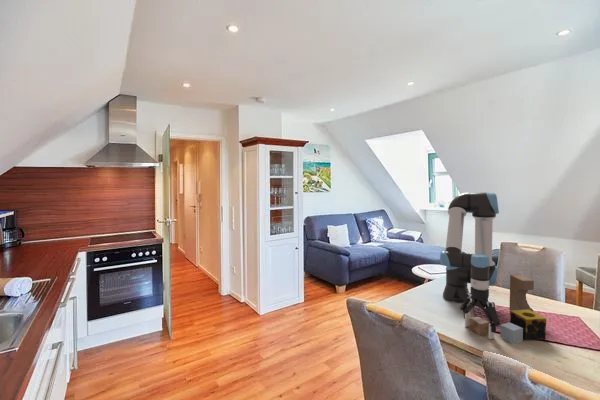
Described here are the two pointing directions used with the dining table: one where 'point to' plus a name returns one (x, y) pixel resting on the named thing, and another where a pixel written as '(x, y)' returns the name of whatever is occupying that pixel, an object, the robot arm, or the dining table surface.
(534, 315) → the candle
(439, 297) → the dining table surface
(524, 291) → the decorative block
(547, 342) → the dining table surface
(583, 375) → the dining table surface
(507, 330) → the slate block
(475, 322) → the walnut cube
